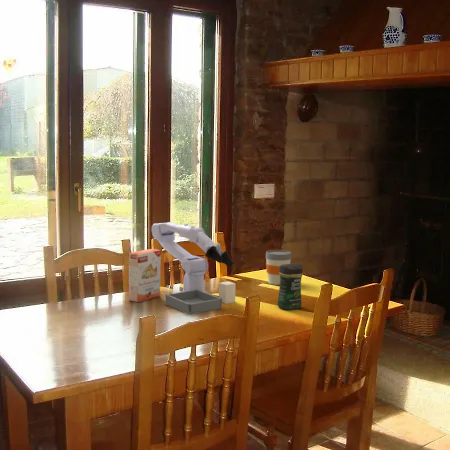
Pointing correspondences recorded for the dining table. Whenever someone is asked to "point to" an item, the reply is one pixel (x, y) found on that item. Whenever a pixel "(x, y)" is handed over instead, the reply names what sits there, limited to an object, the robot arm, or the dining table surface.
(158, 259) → the cracker box
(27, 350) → the dining table surface
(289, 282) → the coffee jar
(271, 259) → the reusable coffee cup
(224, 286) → the carton
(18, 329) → the dining table surface
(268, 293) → the dining table surface
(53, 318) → the dining table surface
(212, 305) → the tray
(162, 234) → the robot arm
